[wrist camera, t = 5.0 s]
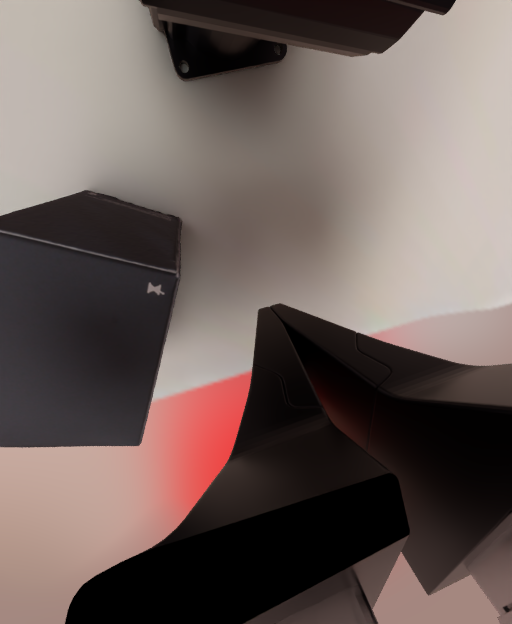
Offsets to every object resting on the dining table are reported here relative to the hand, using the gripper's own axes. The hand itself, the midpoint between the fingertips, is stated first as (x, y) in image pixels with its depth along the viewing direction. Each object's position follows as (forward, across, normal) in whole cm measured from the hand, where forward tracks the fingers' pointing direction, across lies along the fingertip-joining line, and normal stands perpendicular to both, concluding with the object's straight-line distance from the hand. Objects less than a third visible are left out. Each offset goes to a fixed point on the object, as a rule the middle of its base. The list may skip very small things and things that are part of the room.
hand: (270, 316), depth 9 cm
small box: (+12, +8, +1) cm, 15 cm away
